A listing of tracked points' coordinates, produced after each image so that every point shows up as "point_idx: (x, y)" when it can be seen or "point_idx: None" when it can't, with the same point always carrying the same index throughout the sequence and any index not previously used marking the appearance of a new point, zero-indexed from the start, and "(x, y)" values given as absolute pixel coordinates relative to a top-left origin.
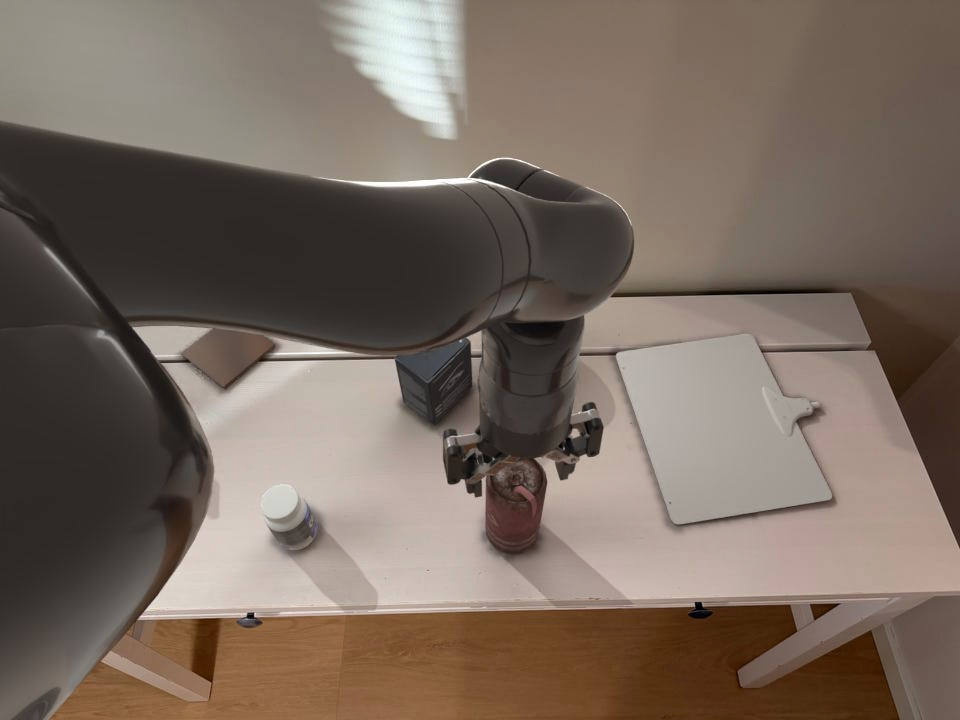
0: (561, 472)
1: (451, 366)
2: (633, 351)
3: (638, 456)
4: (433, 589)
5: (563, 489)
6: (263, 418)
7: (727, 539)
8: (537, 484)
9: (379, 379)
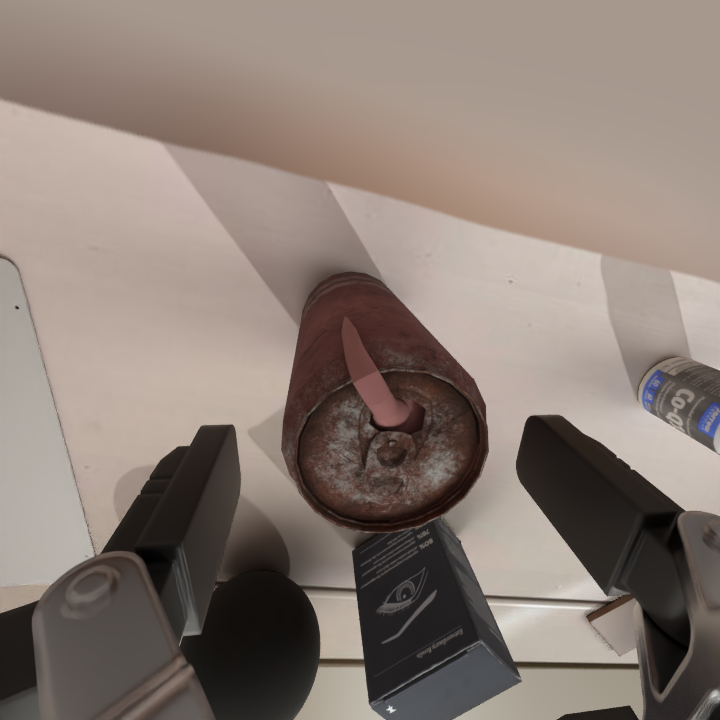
0: (217, 469)
1: (414, 650)
2: None
3: (78, 407)
4: (514, 245)
5: (239, 373)
6: None
7: None
8: (324, 421)
9: (477, 569)
